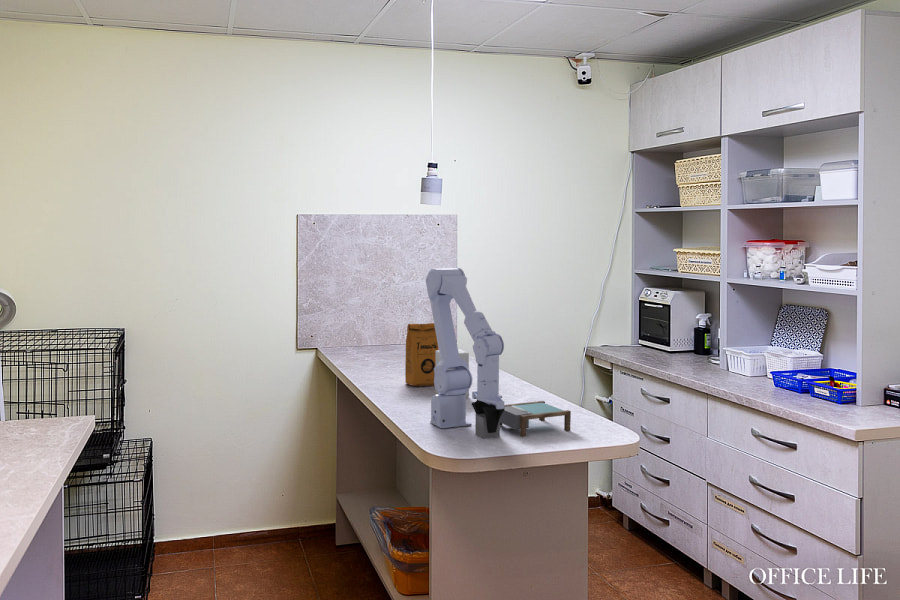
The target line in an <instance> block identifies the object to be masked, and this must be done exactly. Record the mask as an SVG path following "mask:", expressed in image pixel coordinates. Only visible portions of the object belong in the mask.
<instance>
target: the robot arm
mask: <svg viewBox="0 0 900 600" xmlns="http://www.w3.org/2000/svg"><path fill="white" fill-rule="evenodd" d="M467 283H468V278H467V276H466V275H465V272H464V270H463V269H462V268H461V267H455V268H454V267H453V268H434V267H433V268H431V269H429V271H428V273H427V276H426V278H425V285H426V290H427V296H428V299H429V301H430V302H429V303H430V308H431V313H432V319H433V323H434V325H435V331H436V336H437V342H438V347H439V353H440V358H441V361H440V362H439V363H438V364H437V365H436V366H435V368H434V373H435V376H434V385H433V386H434V388H435V390H436V389H437V391H438V393H440V394H437V395H436V394H433V395H432V397H431V402H430V421H429V423H431V425H435V426H436V427H439V428H440V429H449V428H456V427H457V428H458V427H466V426H472V422H469V421H467V419H466V418H467V417H466V416H467V401H466V400H467V398H466V393H467V392H468V389H469V390H470V388H471V387H472V385H473V375H472V372H471V370H470V367H469V368H468V364H467V362H465V361H464V360H463V359H461V358H460V357H459V352H458V349H459V347H458V344H457V337H456V332H455V331H456V330H455V327H454V326H455V325H454V320H453V315H452V309H451V305H450V304H451V301H452V299H453V300H454V301H455V303H456V304H457V306H458V308H459V309H460V310H461V312H462V313H463V315H464V316H465V317H464V322H463V324H464V325H465V327H466V329H467V331H468V333H469V335H470V336H471V339H472V341H473V345H472V350H473V354H474V357H475V363H476V364H477V376H476V377H477V382H476V387H477V388H476V390H475V391H474V390H473V391H472V392H471V395H472V396H471V398H472V400H475V401H473V402H471V404H470V405H471V406H472V409H473V410H474V412H475V415H476V414H485V416H486V421H487V430H488V433H495V432H496V430H497V426H498V422H499V419H500V417H501V415H502V413H503V411H504V409H505V407H504V405H505V401H504V400H503V395H502V394H499V392H500V387H499V386H500V383H499V381H500V356H501V355H502V354H503V352H504V350H505V349H504V348H505V344H504V343H505V342H504V339H503V337H502V336H501V335H500V334H499V333H496V331H494V330H492V327H491V326H490V324H489V322H488V320H487V319H486V316H485V315H484V313H483V312H481V311H479V310H477V308H476V305H475V304H474V302H473V300H472V297H471V295H470V292H469V290H468V288H467ZM446 369H454V370H446Z"/></svg>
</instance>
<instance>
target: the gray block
mask: <svg viewBox="0 0 900 600" xmlns="http://www.w3.org/2000/svg"><path fill="white" fill-rule="evenodd" d="M474 426H475V430H474V431H475V436H477V437H479V438H481V439H489V438H498V437H500V435H501V433H500V432H501V426H500V419H499V422H498V426H497V430H496V432H495V433H488V430H487V421H486V416H485V414H476V413H475V425H474Z"/></svg>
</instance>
